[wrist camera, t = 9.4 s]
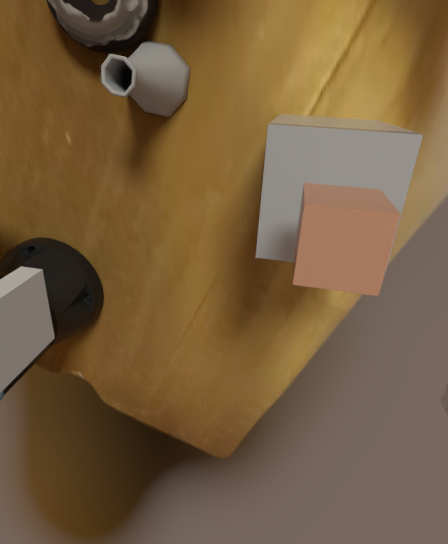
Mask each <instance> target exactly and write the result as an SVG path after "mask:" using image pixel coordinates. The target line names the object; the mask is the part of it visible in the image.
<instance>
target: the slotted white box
mask: <svg viewBox="0 0 448 544" xmlns="http://www.w3.org/2000/svg"><path fill="white" fill-rule="evenodd" d="M422 137H423V135H422V134H419V133H416V132H413V131H410V130H407V129H404V128H401V127H398V126H395V125H392V124H388V123H385V122H382V121H379V120H367V119H351V118H335V117H319V116H303V115H287V114H279V115H278V116H277V117H276V118H275V119H274V120H273V121H271V122H270V123H269V124H268V131H267V142H266V152H265V163H264V173H263V184H262V195H261V205H260V216H259V226H258V237H257V247H256V258H262V259H270V260H279V261H287V262H294V248H295V241H296V235H297V228H298V221H299V214H300V207H301V200H302V193H303V186H304V183H315V184H326V185H337V186H348V187H360V188H371V189H380V190H381V191H382V192H383V193H384V194H385V196H386V197H387V198H388V199H389V200H390V202H391V203H392V204H393V205H394V206H395V208H396V209H397V210H398V211H399V212H400V214H402V210H403V206H404V203H405V199H406V195H407V192H408V188H409V184H410V181H411V177H412V173H413V170H414V166H415V162H416V159H417V155H418V151H419V148H420V144H421V140H422ZM400 217H401V215H400ZM399 221H400V218H399ZM398 225H399V222H398ZM397 228H398V226H397ZM396 232H397V229H396ZM395 236H396V233H395ZM394 239H395V237H394ZM393 243H394V240H393ZM392 247H393V244H392ZM391 250H392V248H391ZM390 254H391V252H390ZM389 258H390V255H389ZM388 262H389V259H388ZM387 265H388V263H387ZM386 269H387V266H386ZM385 273H386V270H385Z"/></svg>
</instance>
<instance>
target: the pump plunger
mask: <svg viewBox="0 0 448 544" xmlns="http://www.w3.org/2000/svg"><path fill="white" fill-rule="evenodd" d="M400 215H401V214H400V212H399V211H398V210H397V209H396V208H395V206H394V205H393V204H392V203H391V202H390V200H389V199H388V198H387V197H386V196H385V194H384V193H383V192H382V191H381V190H380V189H371V188H360V187H348V186H337V185H326V184H315V183H304V186H303V193H302V200H301V207H300V214H299V221H298V228H297V235H296V241H295V248H294V267H293V285H298V286H306V287H313V288H321V289H329V290H336V291H344V292H352V293H360V294H367V295H375V296H378V295H379V292H380V288H381V285H382V281H383V277H384V274H385V270H386V266H387V263H388V259H389V255H390V252H391V248H392V244H393V240H394V237H395V233H396V229H397V226H398V222H399V218H400Z"/></svg>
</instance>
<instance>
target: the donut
mask: <svg viewBox="0 0 448 544" xmlns="http://www.w3.org/2000/svg"><path fill="white" fill-rule="evenodd" d="M47 3H48V6H49V8H50V10H51V12H52V14H53V15H54V17H55V18H56V20H57V22H58V23H59V25H60V26H61V28H62V29H63V30H64V31H65V32H66V33H67V34H68V35H69V36H70V37H71V38H72V39H73V40H74V41H76V42H78V43H80V44H81V45H83V46H85V47H87V48H89V49H90V50H93V51H99V52H104V53H110V52H116V51H123V50H125V49H127V48H129V47H130V46H132V45H134V44H136V43H137V42H138V41H139V40H140V39H141V38H142V36H143V35H144V34H145V33H146V32H147V31H148V29H149V27H150V25H151V23H152V20H153V18H154V16H155V14H156V9H157V4H158V0H110V1H109V2H108V3H106V4H105V5H96V4H95V3H93V2H92V1H91V0H47Z"/></svg>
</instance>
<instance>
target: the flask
mask: <svg viewBox="0 0 448 544" xmlns="http://www.w3.org/2000/svg"><path fill="white" fill-rule="evenodd" d="M189 74H190V67H189V66H188V65H187V63H186V62H185V61H184V60H183V59H182V58H181V56H180V55H179V54H178V53H177V52H176V50H175V49H174V48H173V47H172V46H171V45H168V44H163V43H158V42H152V41H147V40H144V41H143V42H142V44H141V45H140V46H139V47H138V49H137V50H136V51H135V52H134V53H133V54H132V55H131V56H130V57H128V58H126V57H125V56H120V55H115V54H109V56H108V57H107V58H106V60H105V61H104V63H103V64H102V65H101V83H102V84H103V85H104V87H105V88H106V89H107V90H108V91H109V92H110V93H111V94H112V95H117V96H122V97H128V96H129V95H130V96H131V97H132V98H133V99H134V100H135V101H136V102H137V104H138V105H139V106H140V107H141V108H142V109H143V110H144V111H145V112H147V113H152V114H157V115H162V116H166V117H170V116H171V115H172V114H173V113H174V112H175V110H176V109H177V108H178V107H179V106H180V105H181V104H182V103H183V101H184V100H185V99H186V98H187V92H188V83H189Z"/></svg>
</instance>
